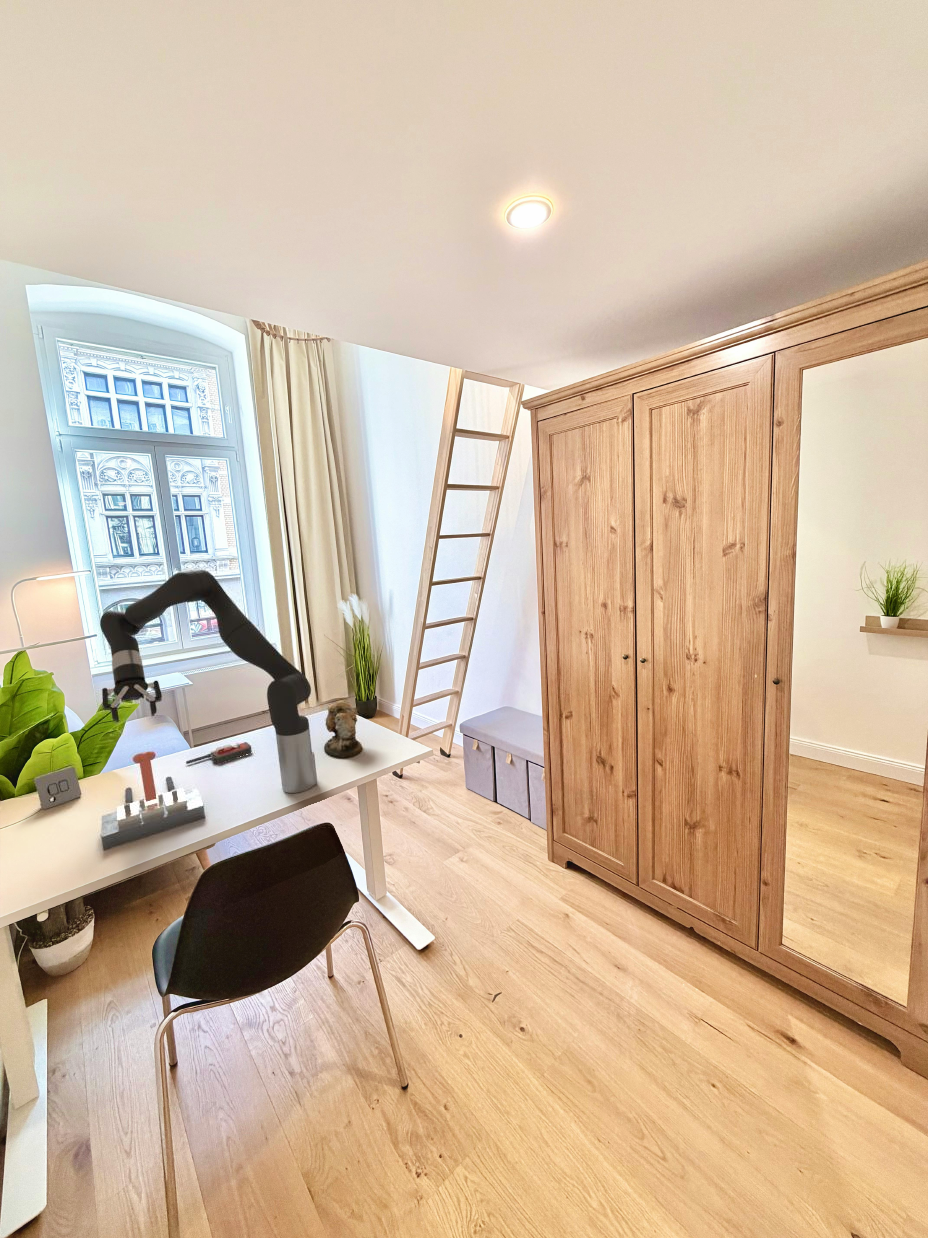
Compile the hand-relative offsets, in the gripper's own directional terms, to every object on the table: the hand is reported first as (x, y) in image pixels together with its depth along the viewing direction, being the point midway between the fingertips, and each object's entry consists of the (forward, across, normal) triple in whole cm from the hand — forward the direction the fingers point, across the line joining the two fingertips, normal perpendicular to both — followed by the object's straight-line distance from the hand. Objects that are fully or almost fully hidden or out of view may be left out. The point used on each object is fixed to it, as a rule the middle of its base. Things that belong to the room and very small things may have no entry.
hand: (135, 718), depth 142 cm
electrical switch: (+10, -20, +27) cm, 35 cm away
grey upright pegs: (+20, +1, +12) cm, 24 cm away
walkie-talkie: (+10, +23, +24) cm, 35 cm away
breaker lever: (+26, 0, -4) cm, 26 cm away
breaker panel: (+30, +1, 0) cm, 31 cm away
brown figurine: (+23, +57, +6) cm, 62 cm away
